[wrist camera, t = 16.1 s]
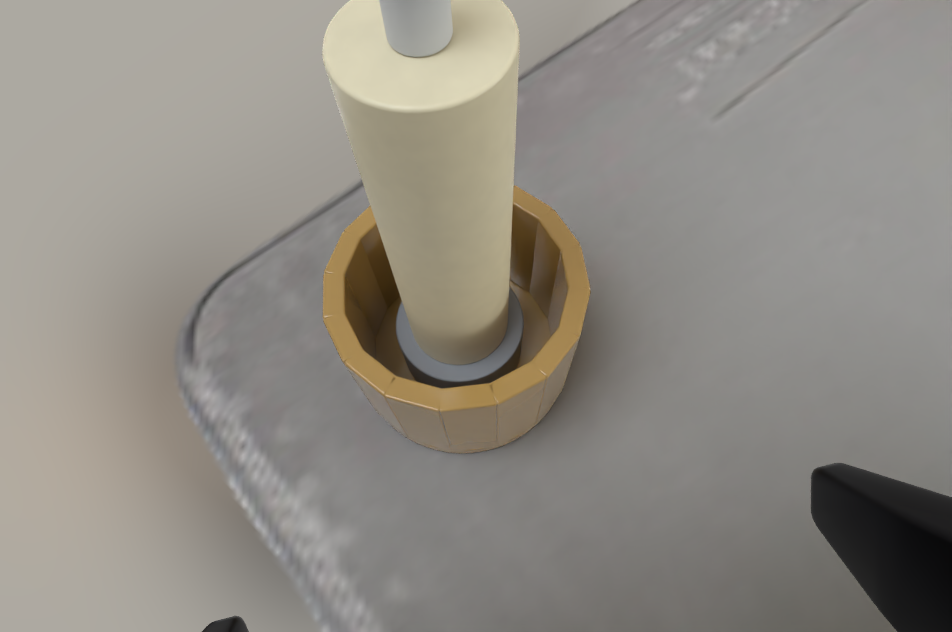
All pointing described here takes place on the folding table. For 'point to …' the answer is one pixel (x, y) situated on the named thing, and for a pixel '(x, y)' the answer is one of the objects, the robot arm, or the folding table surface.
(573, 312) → the holder
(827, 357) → the folding table surface
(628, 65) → the folding table surface
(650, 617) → the folding table surface
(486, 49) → the kitchen roll stand
